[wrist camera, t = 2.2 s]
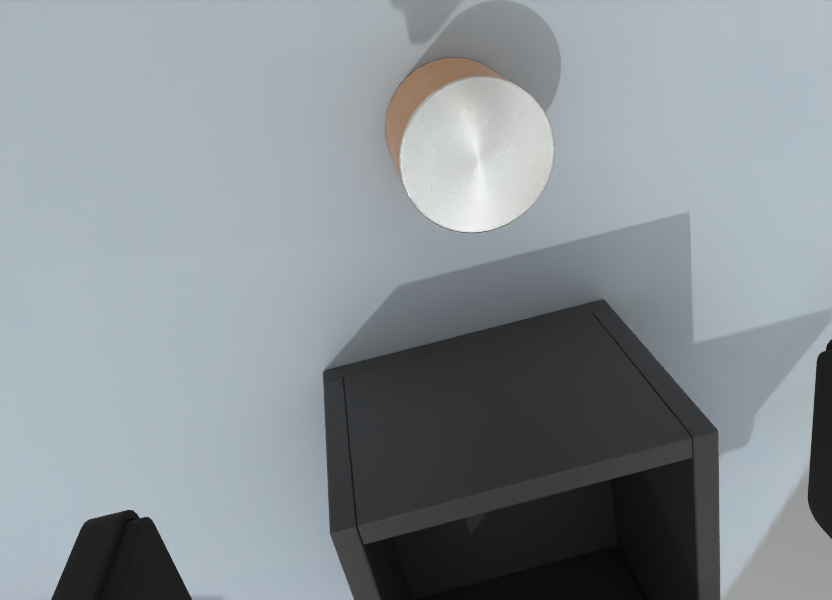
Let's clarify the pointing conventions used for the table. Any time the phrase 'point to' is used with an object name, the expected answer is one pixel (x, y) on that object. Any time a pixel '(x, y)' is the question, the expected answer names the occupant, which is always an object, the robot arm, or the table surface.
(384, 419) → the dark grey storage bin
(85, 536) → the robot arm
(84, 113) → the table surface
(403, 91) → the cylinder
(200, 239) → the table surface
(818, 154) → the table surface
